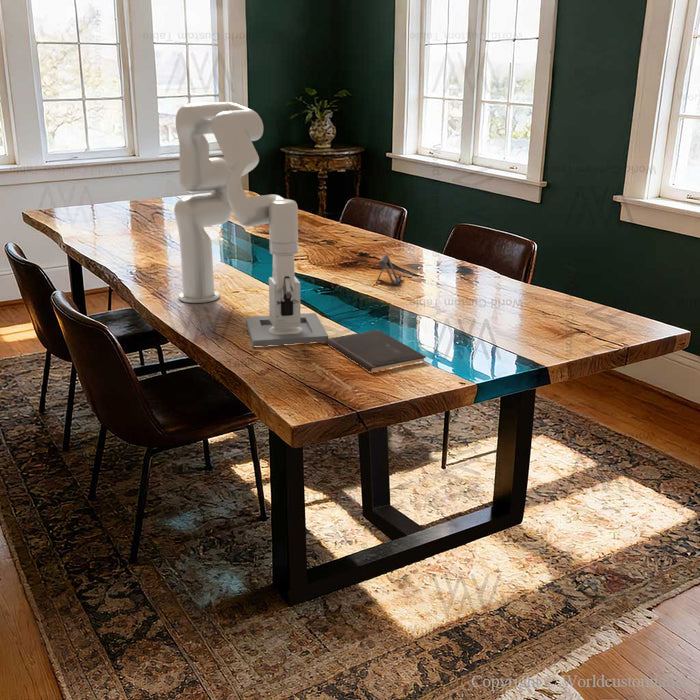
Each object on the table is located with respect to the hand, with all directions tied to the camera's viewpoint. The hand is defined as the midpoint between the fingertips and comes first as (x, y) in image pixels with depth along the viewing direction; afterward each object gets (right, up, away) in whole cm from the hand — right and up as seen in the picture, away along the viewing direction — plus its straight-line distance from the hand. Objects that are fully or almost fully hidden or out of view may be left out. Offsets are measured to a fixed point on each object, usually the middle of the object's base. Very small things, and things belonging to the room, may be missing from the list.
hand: (284, 310), depth 215 cm
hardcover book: (+24, -12, -12) cm, 30 cm away
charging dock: (0, -6, +2) cm, 7 cm away
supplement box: (0, -4, +1) cm, 4 cm away
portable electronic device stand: (+31, +12, +52) cm, 61 cm away
